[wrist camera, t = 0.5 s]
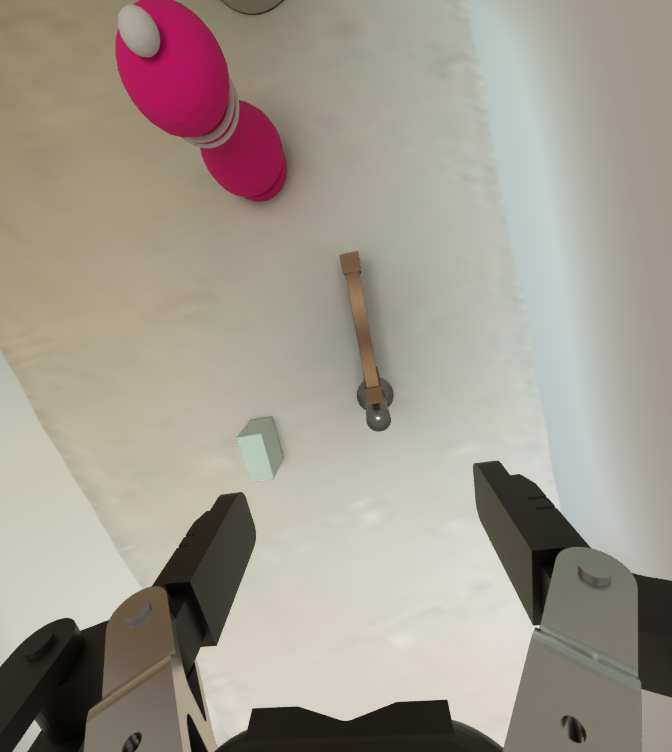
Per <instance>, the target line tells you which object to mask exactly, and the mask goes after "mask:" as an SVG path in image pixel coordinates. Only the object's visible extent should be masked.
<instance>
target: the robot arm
mask: <svg viewBox="0 0 672 752" xmlns="http://www.w3.org/2000/svg"><path fill="white" fill-rule="evenodd" d="M223 1H224V3H226V4H227V5H229V6H230V7H232V8H233V9H235V10H238V11H240V12H243V13H251V14H255V13H261V12H265V11H267V10H269V9H271V8H273V7H274V6H276V5H277V4H278V3H279V2H281V1H282V0H223ZM473 473H474V486H475V499H476V507H477V511H478V515H479V518H480V521H481V523H482V525H483V527H484V529H485V531H486V533H487V535H488V537H489V539H490V541H491V543H492V545H493V547H494V549H495V551H496V553H497V555H498V557H499V559H500V561H501V563H502V565H503V567H504V569H505V571H506V573H507V575H508V577H509V579H510V580H511V582H512V584H513V586H514V588H515V590H516V592H517V594H518V596H519V598H520V600H521V602H522V604H523V606H524V608H525V610H526V612H527V614H528V616H529V618H530V620H531V622H532V624H533V625H540V627H539V629H538V628H535V629H534V631H533V634H532V637H531V641H530V645H529V649H528V653H527V657H526V661H525V665H524V669H523V673H522V677H521V681H520V685H519V689H518V693H517V697H516V701H515V705H514V709H513V713H512V717H511V721H510V725H509V729H508V733H507V737H506V741H505V745H504V748H503V747H501V746H500V745H499V744H498V743H496V742H495V741H494V740H492V739H491V738H490V737H488V736H486V735H485V734H483V733H481V732H480V731H478V730H477V729H474V728H472V727H470V726H468V725H466V724H464V723H461V722H458V721H454V720H451V715H450V711H449V706H448V701H447V700H432V701H410V702H396V703H393V704H391V705H388V706H386V707H383V708H381V709H378V710H376V711H373V712H370V713H368V714H365V715H363V716H360V717H358V718H355V719H353V720H350V721H341V720H338V719H335V718H332V717H329V716H326V715H322V714H319V713H316V712H313V711H310V710H307V709H304V708H301V707H277V708H255V709H252V713H251V717H250V721H249V725H248V730H246V731H243V732H241V733H240V734H238V735H236V736H234V737H232V738H231V739H229V740H228V741H227V742H225V743H224V744H223V745H221V746H220V747H219V748H217V744H216V741H215V738H214V735H213V730H212V726H211V721H210V717H209V712H208V708H207V703H206V698H205V694H204V689H203V684H202V680H201V675H200V670H199V666H198V663H197V660H196V657H197V654H198V652H199V649H200V647H205V646H217V643H218V641H219V638H220V635H221V633H222V630H223V627H224V625H225V622H226V619H227V617H228V614H229V612H230V609H231V606H232V604H233V601H234V598H235V596H236V593H237V591H238V588H239V585H240V583H241V580H242V577H243V575H244V572H245V569H246V567H247V564H248V562H249V559H250V556H251V554H252V551H253V548H254V546H255V541H256V530H255V525H254V522H253V519H252V516H251V513H250V509H249V506H248V503H247V500H246V497H245V495H244V494H243V493H242V492H239V493H231V494H223V495H220V496H219V497H218V499H217V500H216V502H215V504H214V505H213V507H212V508H211V510H210V511H206V512H205V513H204V514H203V515H202V516H201V517H200V518H199V519H197V520H196V521H195V522H194V523H193V525H192V526H191V528H190V529H189V531H188V532H187V534H186V537H184V538H183V540H182V541H181V543H180V545H179V548H177V549H176V551H175V552H174V554H173V555H172V557H171V558H170V560H169V561H168V563H167V564H166V566H165V567H164V569H163V570H162V572H161V573H160V575H159V576H158V578H157V579H156V581H155V582H154V584H153V585H152V587H149V588H145V589H143V590H141V591H139V592H137V593H135V594H134V595H132V596H131V597H129V598H128V599H127V600H125V601H124V602H123V603H122V604H121V605H120V606H119V607H118V608H117V609H116V611H115V612H114V613H113V615H112V616H111V618H110V620H108V621H105V622H103V623H100V624H97V625H95V626H92V627H89V628H87V629H84V630H82V631H80V630H79V628H78V626H77V625H76V623H75V622H74V620H72V619H70V618H63V619H59V620H56V621H54V622H51V623H49V624H47V625H45V626H44V627H42V628H41V629H39V630H38V631H36V632H35V633H33V634H32V635H31V636H30V637H28V638H27V639H26V640H25V641H24V642H23V643H22V644H20V645H19V646H18V647H17V649H16V650H15V651H14V652H13V653H12V654H11V655H10V656H9V658H8V659H7V660H6V661H5V662H4V663H3V664H2V666H1V667H0V752H12V751H13V750H14V748H15V747H16V745H17V744H18V742H19V741H20V740H21V738H22V737H23V735H24V734H25V732H26V731H27V729H28V728H29V727H30V725H31V724H32V722H33V721H34V719H35V721H36V722H37V723H38V725H39V726H40V728H41V729H42V730H41V732H40V733H39V735H38V737H37V738H36V740H35V741H34V743H33V744H32V746H31V747H30V749H29V750H28V752H642V708H641V707H642V706H641V689H644V690H648V691H651V692H654V693H658V694H661V695H665V696H668V697H672V581H669V580H664V579H658V578H651V577H646V576H641V575H637V574H634V573H631V572H630V571H629V570H628V569H627V568H626V567H625V566H624V565H623V564H622V563H621V562H619V561H618V560H617V559H615V558H613V557H612V556H610V555H608V554H605V553H603V552H601V551H598V550H595V549H591V548H590V546H589V545H588V544H587V543H586V542H585V541H584V539H583V538H582V537H581V536H580V535H579V534H578V533H577V531H576V530H575V529H574V528H573V527H572V526H571V524H570V523H569V522H568V521H567V520H566V518H564V516H563V515H562V514H561V513H560V512H559V510H558V509H557V508H555V506H554V505H553V503H552V502H551V501H550V500H549V499H548V498H546V495H545V494H544V493H543V492H542V491H541V489H540V488H539V487H538V486H537V485H536V484H535V483H534V482H532V481H530V480H529V479H527V478H525V477H524V476H522V475H520V474H518V475H510V474H509V473H508V472H507V471H506V469H505V468H504V467H503V465H502V464H501V463H500V462H499V461H490V462H482V463H474V465H473Z"/></svg>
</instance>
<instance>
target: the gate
mask: <svg viewBox="0 0 672 752" xmlns="http://www.w3.org/2000/svg"><path fill="white" fill-rule="evenodd" d="M340 259H341V265H342V270H343V274H344V275H345V276H346V279H347V284H348V290H349V295H350V300H351V306H352V311H353V317H354V322H355V328H356V333H357V339H358V344H359V349H360V355H361V360H362V366H363V371H364V387H365V394H366V400H367V405H370V404H376V403H382V402H384V400H383V394H382V389H381V384H380V379H379V374H378V370H377V367H376V366H375V361H374V355H373V349H372V343H371V338H370V332H369V326H368V320H367V314H366V309H365V303H364V297H363V291H362V286H361V280H360V274H361V266H360V260H359V254H358V251H356V252H351V253H347V254H342V255H340Z"/></svg>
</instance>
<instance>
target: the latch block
mask: <svg viewBox="0 0 672 752" xmlns="http://www.w3.org/2000/svg"><path fill="white" fill-rule="evenodd" d="M236 438H237V441H238V445H239V448H240V451H241V454H242V458H243V461H244V464H245V468H246V471H247V474H248V478H249V481H250V482H257V481H264V480H272V479H274V478H275V475H276V473H277V471H278V469H279V466H280V464H281V462H282V460H283V455H282V451H281V447H280V443H279V440H278V436H277V432H276V428H275V425H274V421H273V417H268V418H262V419H255V420H250V421H249V423H248V424H247V425H246V426H245V428H244V429H243V430H242V431H241V433H240V434H239V435H238V436H237V437H236Z"/></svg>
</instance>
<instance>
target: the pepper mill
mask: <svg viewBox="0 0 672 752" xmlns="http://www.w3.org/2000/svg"><path fill="white" fill-rule="evenodd" d="M118 27H119V29H118V32H117V37H116V60H117V66H118V71H119V74H120V77H121V80H122V82H123V84H124V86H125V88H126V90H127V92H128V94H129V96H130V98H131V99H132V101H133V102H134V104H135V105H136V106H137V107H138V109H139V110H140V111H141V112H142V113H143V114H144V115H145V116H146V117H147V118H148V119H149V120H150V121H151V122H152V123H153V124H154V125H156V126H158V127H159V128H161V129H162V130H164V131H166V132H167V133H169V134H171V135H175V136H180V137H183V138H184V139H185V140H186V141H187V142H189V143H190V144H192V145H194V146H197V147H200V149H201V154H202V157H203V160H204V162H205V164H206V166H207V168H208V170H209V172H210V173H211V175H212V176H213V177H214V178H215V180H216V181H217V182H218V183H219V184H220V185H221V186H222V187H224V188H225V189H226V190H228V191H229V192H231V193H233V194H236V195H239V196H244V197H245V198H247V199H250V200H253V201H265V200H268V199H270V198H272V197H273V196H275V195H276V194H277V193H278V192H279V191H280V189H281V188H282V186H283V184H284V181H285V178H286V160H285V157H284V154H283V151H282V144H281V141H280V137H279V135H278V132H277V130H276V128H275V127H274V125H273V124H272V122H271V121H270V120H269V118H268V117H267V116H266V115H265V114H264V113H263V112H262V111H261V110H259V109H258V108H256V107H254V106H253V105H251V104H249V103H247V102H245V101H240V100H239V99H238V95H237V92H236V89H235V87H234V84H233V82H232V81H231V79H230V78H229V74H228V68H227V63H226V61H225V58H224V55H223V53H222V50H221V48H220V46H219V44H218V42H217V40H216V38H215V37H214V35H213V34H212V32H211V31H210V30H209V28H208V27H207V26H206V25H205V24H204V22H203V21H202V20H201V19H200V18H199V17H198V16H197V15H196V14H195V13H193V12H192V11H191V10H190V9H188V8H187V7H185V6H184V5H182V4H181V3H178V2H176V1H174V0H140V1H138V2H136V3H134V4H133V5H132V4H130V5H126V6H124V7H123V8H122V9H121V10H120V12H119V15H118Z"/></svg>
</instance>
